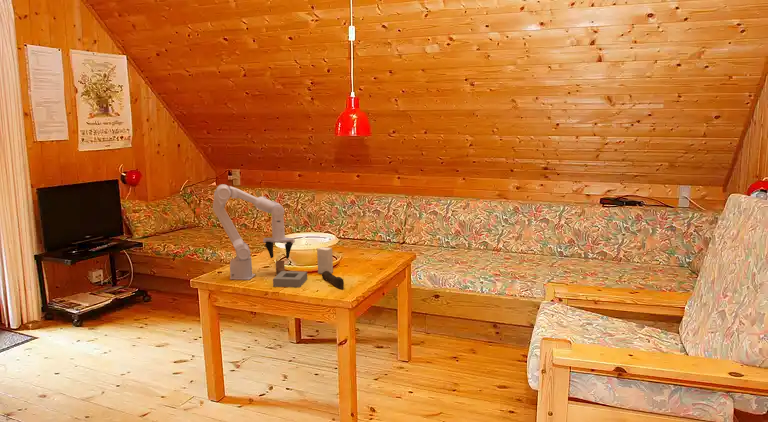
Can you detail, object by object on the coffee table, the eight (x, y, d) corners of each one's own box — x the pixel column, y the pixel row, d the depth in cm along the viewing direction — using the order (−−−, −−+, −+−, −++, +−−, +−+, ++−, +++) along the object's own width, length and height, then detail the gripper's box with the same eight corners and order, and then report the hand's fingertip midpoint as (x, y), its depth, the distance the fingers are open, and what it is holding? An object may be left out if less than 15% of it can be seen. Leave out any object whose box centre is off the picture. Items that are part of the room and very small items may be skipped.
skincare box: (333, 272, 261) (332, 248, 259) (328, 275, 257) (327, 250, 255) (323, 271, 264) (322, 246, 262) (317, 273, 260) (316, 248, 258)
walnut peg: (275, 275, 259) (274, 262, 258) (277, 272, 263) (277, 260, 262) (283, 275, 258) (282, 262, 257) (285, 272, 262) (285, 260, 261)
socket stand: (273, 286, 242) (272, 278, 241) (282, 278, 253) (281, 271, 253) (299, 287, 240) (299, 279, 239) (307, 279, 252) (307, 271, 251)
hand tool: (321, 279, 251) (321, 269, 250) (329, 278, 253) (329, 268, 252) (337, 291, 234) (336, 281, 234) (345, 290, 236) (345, 279, 235)
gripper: (260, 231, 254) (262, 259, 256) (290, 231, 252) (292, 260, 254) (265, 227, 261) (267, 255, 263) (295, 228, 259) (296, 256, 261)
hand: (279, 257), depth 259 cm, fingers open, 7 cm apart
